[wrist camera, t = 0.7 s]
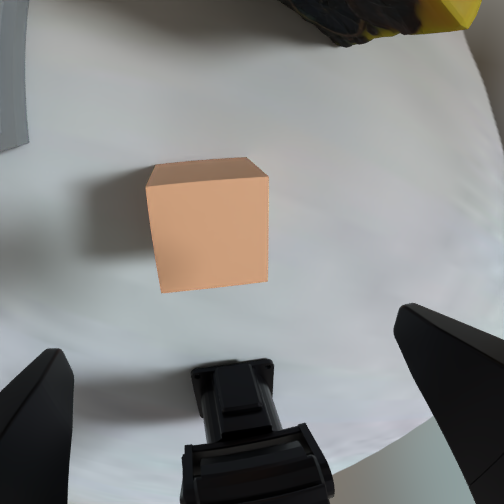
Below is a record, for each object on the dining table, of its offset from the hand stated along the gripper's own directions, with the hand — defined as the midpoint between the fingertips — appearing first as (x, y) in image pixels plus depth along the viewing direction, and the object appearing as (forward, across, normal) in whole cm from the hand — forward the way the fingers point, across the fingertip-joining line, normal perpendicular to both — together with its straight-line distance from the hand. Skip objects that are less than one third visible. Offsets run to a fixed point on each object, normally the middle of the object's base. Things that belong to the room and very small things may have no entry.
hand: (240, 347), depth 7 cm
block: (+12, 0, 0) cm, 12 cm away
